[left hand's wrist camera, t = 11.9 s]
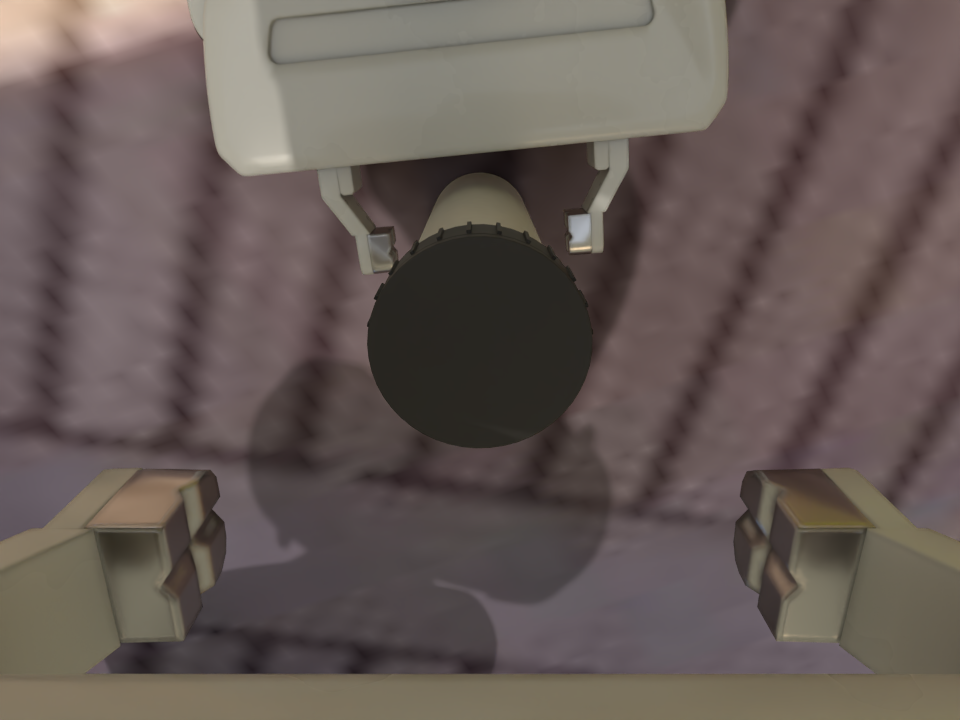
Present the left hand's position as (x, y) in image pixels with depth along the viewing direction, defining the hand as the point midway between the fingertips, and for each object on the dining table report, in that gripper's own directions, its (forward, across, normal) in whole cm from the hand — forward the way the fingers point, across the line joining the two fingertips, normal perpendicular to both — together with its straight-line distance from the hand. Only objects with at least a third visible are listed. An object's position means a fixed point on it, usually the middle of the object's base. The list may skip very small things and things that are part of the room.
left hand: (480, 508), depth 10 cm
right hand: (+21, 0, -1) cm, 21 cm away
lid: (+7, 0, 0) cm, 7 cm away
